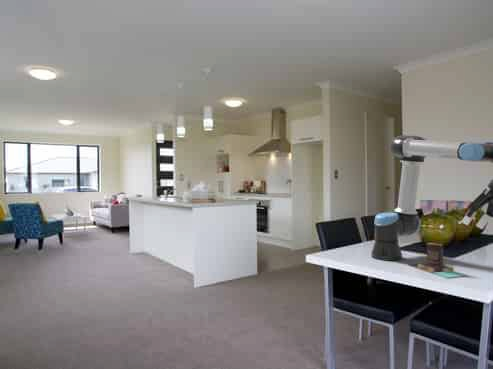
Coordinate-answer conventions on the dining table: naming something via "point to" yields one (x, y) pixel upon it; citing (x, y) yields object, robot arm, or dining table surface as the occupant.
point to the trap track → (424, 267)
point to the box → (435, 256)
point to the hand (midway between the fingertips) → (471, 225)
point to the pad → (450, 274)
